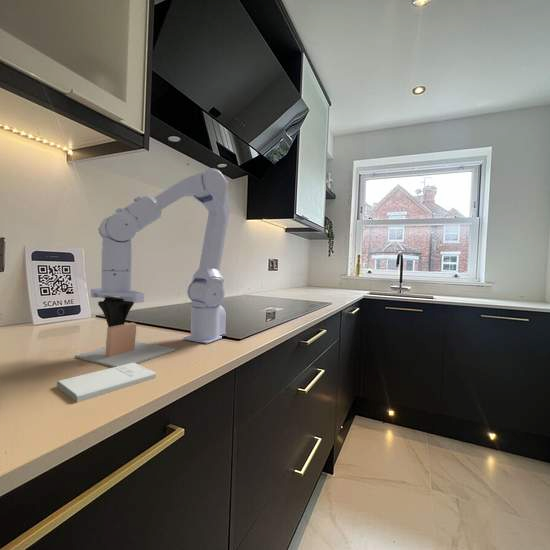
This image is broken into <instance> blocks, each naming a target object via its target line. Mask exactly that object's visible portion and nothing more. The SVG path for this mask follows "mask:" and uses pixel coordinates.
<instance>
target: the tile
mask: <svg viewBox="0 0 550 550" xmlns="http://www.w3.org/2000/svg"><path fill="white" fill-rule="evenodd" d="M136 334H137V323H135V322H129V323H124V324H122V325H117V326H112V327H108V326H107V328H106V339H105V347H106V350H105V355H106V356H109V357H111V356H115V355H118V354H122V353H125V352H128V351H132V350H134V349H135V341H136V336H137V335H136Z"/></svg>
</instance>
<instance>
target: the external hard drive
mask: <svg viewBox="0 0 550 550" xmlns="http://www.w3.org/2000/svg"><path fill="white" fill-rule="evenodd" d="M156 378H157V373H156V372H155V371H154V370H151V369H149V368H147V367H144V366H142V365H141V364H136V363H130V364H126V365H122V366H117V367H110V368H105V369H101V370H98V371H93V372H88V373H84V374H80V375H77V376H73V377H69V378H65V379H61V380H60V379H59V380H58V381H56V387H57V388H58V389H59V390H61V391H62V392H63V393H64V394H66V396H68V397H70V398H71V399H72V400H74V402H76V403H79V402H83V401H86V400H89V399H93V398H97V397H98V396H102V395H106V394H109V393H112V392H115V391H117V390H120V389H124V388H128V387H130V386H134V385H137V384H140V383H143V382H148V381H150V380H153V379H156Z"/></svg>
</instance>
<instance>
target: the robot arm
mask: <svg viewBox="0 0 550 550" xmlns="http://www.w3.org/2000/svg"><path fill="white" fill-rule="evenodd" d="M228 187H229V182H228V180H227V179H226V177H225V176H224V175H223V173H222V172H221V171H220V170H219V169H217V168H213V167H211V168H208V169H206V170H205V171H202V172H199V173H196V174H194V175H190V176H187V177H186V178H184V179H180V180H179V181H177V182H176V183H174V184H173V185H171V186H169V187H168V188H166V189H165V190H163V191H162V192H161V193H158V194H157V195H155V196H153V197H152V196H147V195H144V196H141V195H139V196H137V197H135V198H133V201H134V202H132V203H130V204H128V205H126V206H125V207H123V208H121V207H119V208H117V209H115V210H114V211H115V213H113V214H112V215H109V216H107V217H105V218H104V219H103V220H102V221H101V223H100V225H99V227H97V228H98V229H97V230H98V233H99V235H100V237H101V238H102V244H101V245H102V248H101V288H90V298H98V299H99V298H100V299H103V300H100V301H98V302H97V305H98V307H99V308H100V309H101V311H102V312H103V316H104V317H105V321H106V324H107V327H112V326H117V325H122V324H126V320H127V317H128V314H129V313H130V311H131V309H132V308H133V306H134V304H137V303H144V302H145V292H141V291H135V290H132V252H133V251H132V240H133V239H134V237H135V235H136V234H137V233H140V232H141V230H143V229H145V228H147V227H148V226H149V225H151V224H152V223H154V222H155V221H157V220H158V219H160V218H161V217H162V212H163V209H165V208H167V207H168V206H170V205H172V204H174V203H176V202H177V201H179V200H181V199H182V198H184V197H193V198H194V199H195V200H197V202H199V203H200V204H201V205H203V206H204V207H205V209H206V210H207V211H208V215H207V220H206V227H205V232H204V238H203V243H202V249H201V255H200V262H199V267H198V269H197V270H196V271H195V273H194V274H193V275H192V280H191V282H190V283H189V285H188V287H187V291H186V292H187V293H186V294H187V296H188V299H189V300H190V301H191V309H190V310H191V314H190V317H191V318H190V320H191V321H190V335H188V336H184V337H183V340H184V341H191V342H196V343H201V344H202V343H203V344H210V343H212V342H213V343H214V342H216V341H219V340H221V339H223V338H222V336H220V335H222V334H226V321H227V319H226V318H227V313H226V310H225V308H224V307H223V306H222V305H221V303H222V302H223V301H224V298H225V288H224V280H225V279H224V277H223V275H222V274H221V271H220V269H221V264H222V257H223V253H224V252H223V251H224V246H225V240H226V234H227V228H228V223H229V218H230V210H231V206H230V200H229V195H228Z"/></svg>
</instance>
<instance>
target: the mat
mask: <svg viewBox="0 0 550 550" xmlns="http://www.w3.org/2000/svg"><path fill="white" fill-rule="evenodd" d="M105 350H106V346H105V347H102V348H99V349H94V350H91V351H87V352H83V353H80V354H74V358H76V359H79V360H80V359H81V360H83V361H88V362H91V363H95V364H98V365H99V364H100V365H102V366H107V367H110V368H113V367H117V366H122V365H126V364H130V363H136V364H138V365H140V364H141V363H144V362H147V361H149V360H152V359H155V358H159V357H162V356H164V355H167V354H170V353H172V352H175V351H176V348H171V347H167V346H161V345H157V344H154V343H153V344H152V343H147V342H141V341H138V340H137V341H136V340H135V349H134V350H132V351H128V352H125V353H122V354H118V355H115V356H111V357H109V356H106V355H105Z"/></svg>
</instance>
